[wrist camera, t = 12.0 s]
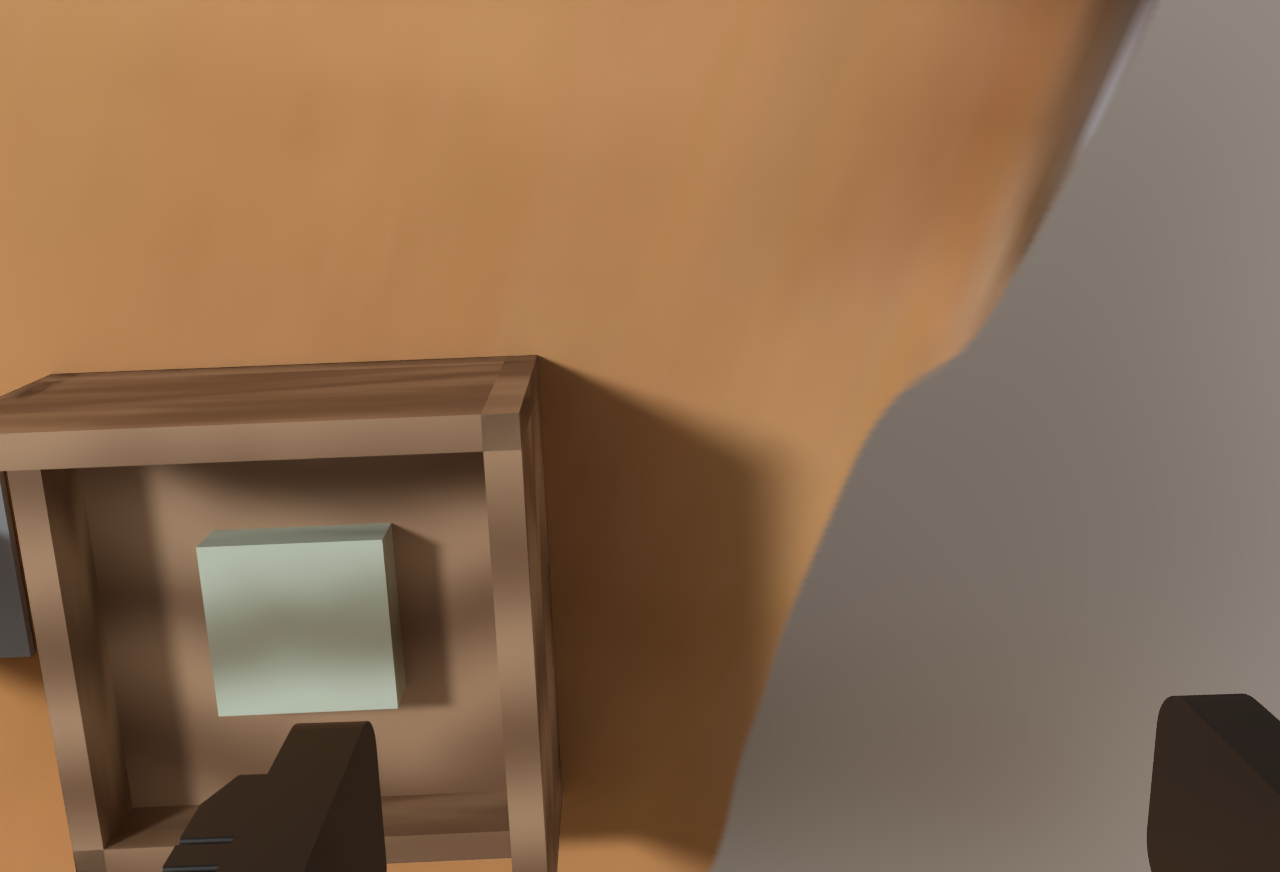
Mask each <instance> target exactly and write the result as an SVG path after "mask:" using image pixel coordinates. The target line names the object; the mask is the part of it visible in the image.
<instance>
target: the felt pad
mask: <svg viewBox="0 0 1280 872" xmlns="http://www.w3.org/2000/svg"><path fill="white" fill-rule="evenodd" d="M34 653H35V649H34V643H33V637H32V632H31V626H30V620H29V614H28V609H27V603H26V597H25V592H24V586H23V580H22V574H21V569H20V563H19V557H18V551H17V546H16V540H15V534H14V528H13V523H12V517H11V511H10V505H9V500H8V494H7V488H6V482H5V477H4V471H0V658H16V657H31V656H32V655H33V654H34Z"/></svg>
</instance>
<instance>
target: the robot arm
mask: <svg viewBox="0 0 1280 872" xmlns="http://www.w3.org/2000/svg"><path fill="white" fill-rule="evenodd" d="M1147 849H1148V857H1149V863H1150V867H1151V871H1152V872H1280V721H1279V720H1278V719H1277V718H1275V716H1273V715H1272V714H1271V713H1270V712H1269V711H1268V710H1267V709H1266V708H1264V707H1263V706H1262V705H1261V704H1260V703H1259V702H1257V701H1256V700H1255V699H1254V698H1253V697H1251V696H1249V695H1247V694H1220V695H1218V694H1217V695H1188V696H1171V697H1168V698H1167V699H1166V700H1165V701H1164V703H1163V704H1162V706H1161V708H1160V711H1159V715H1158V721H1157V729H1156V740H1155V751H1154V762H1153V772H1152V783H1151V794H1150V805H1149V816H1148V826H1147ZM162 872H387V865H386V849H385V838H384V826H383V814H382V803H381V791H380V780H379V768H378V756H377V745H376V738H375V733H374V729H373V726H372V724H371V722H369V721H352V722H322V723H297V724H295V725H294V726H293V727H292V728H291V730H290V732H289V734H288V736H287V738H286V739H285V741H284V743H283V745H282V747H281V749H280V751H279V753H278V755H277V756H276V758H275V760H274V762H273V764H272V766H271V768H270V770H269V772H268V773H267V774H250V775H238V776H237V777H235V778H234V779H233V780H232V781H230V782H229V783H228V784H226V785H225V786H224V787H222V788H221V789H220V790H218V791H217V792H216V793H215V794H213V795H212V796H211V797H209V798H208V799H207V800H205V801H204V802H203V803H201V804H200V806H199V807H198V809H197V811H196V812H195V814H194V815H193V817H192V819H191V820H190V822H189V824H188V825H187V827H186V829H185V830H184V832H183V834H182V835H181V837H180V843H179V845H175V847H174V849H173V850H172V852H171V853H170V855H169V857H168V858H167V860H166V862H165V863H164V865H163V871H162Z"/></svg>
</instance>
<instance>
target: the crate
mask: <svg viewBox="0 0 1280 872" xmlns="http://www.w3.org/2000/svg"><path fill="white" fill-rule="evenodd" d="M0 471H7V475H8V481H9V487H10V492H11V498H12V504H13V510H14V516H15V521H16V527H17V533H18V539H19V544H20V550H21V556H22V562H23V567H24V573H25V579H26V585H27V591H28V596H29V602H30V608H31V614H32V619H33V625H34V631H35V637H36V642H37V648H38V654H39V660H40V666H41V671H42V677H43V683H44V689H45V694H46V700H47V706H48V712H49V717H50V723H51V729H52V735H53V740H54V746H55V752H56V758H57V764H58V769H59V775H60V781H61V787H62V792H63V798H64V804H65V810H66V815H67V821H68V827H69V833H70V839H71V844H72V850H73V856H74V862H75V867H76V872H162V871H163V865H164V863H165V862H166V860H167V858H168V857H169V855H170V853H171V852H172V850H173V849H174V847H175V845H179V843H180V837H181V835H182V834H183V832H184V830H185V829H186V827H187V825H188V824H189V822H190V820H191V819H192V817H193V815H194V814H195V812H196V811H197V809H198V807H199V806H200V804H201V803H203V802H204V801H205V800H207V799H208V798H209V797H211V796H212V795H213V794H215V793H216V792H217V791H218V790H220V789H221V788H222V787H224V786H225V785H226V784H228V783H229V782H230V781H232V780H233V779H234V778H235V777H237V776H238V775H250V774H267V773H268V772H269V770H270V768H271V766H272V764H273V762H274V760H275V758H276V756H277V755H278V753H279V751H280V749H281V747H282V745H283V743H284V741H285V739H286V738H287V736H288V734H289V732H290V730H291V728H292V727H293V726H294V725H295V724H297V723H322V722H352V721H369V722H371V724H372V726H373V729H374V733H375V738H376V745H377V756H378V768H379V780H380V791H381V803H382V814H383V826H384V838H385V849H386V864H388V863H409V862H431V861H452V860H474V859H495V858H512V870H513V872H557V865H558V850H559V835H560V820H561V805H562V782H561V765H560V747H559V730H558V712H557V695H556V677H555V660H554V642H553V625H552V607H551V590H550V572H549V555H548V537H547V520H546V502H545V485H544V467H543V450H542V432H541V415H540V397H539V380H538V362H537V355H526V356H500V357H475V358H449V359H424V360H398V361H373V362H347V363H322V364H296V365H271V366H245V367H220V368H195V369H169V370H144V371H118V372H93V373H67V374H51V375H48V376H46V377H44V378H41V379H39V380H37V381H35V382H32V383H30V384H28V385H25V386H23V387H21V388H19V389H16V390H14V391H12V392H9V393H7V394H5V395H2V396H0Z"/></svg>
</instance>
